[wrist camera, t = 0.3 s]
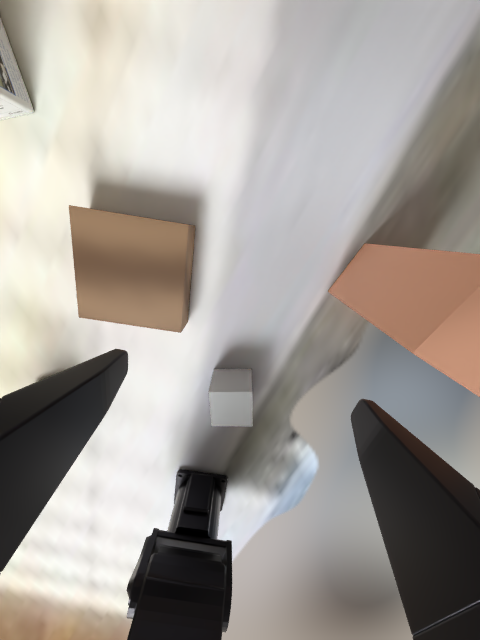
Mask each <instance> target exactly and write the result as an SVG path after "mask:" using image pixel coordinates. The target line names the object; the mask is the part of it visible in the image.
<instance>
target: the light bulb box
mask: <svg viewBox="0 0 480 640" xmlns="http://www.w3.org/2000/svg"><path fill="white" fill-rule="evenodd" d="M31 113H34V109H33V106H32V104H31V101H30V98H29V95H28V93H27V90H26V87H25V84H24V81H23V79H22V76H21V73H20V70H19V68H18V65H17V62H16V59H15V57H14V54H13V51H12V48H11V45H10V43H9V40H8V37H7V34H6V32H5V29H4V26H3V23H2V20H1V18H0V120H4V119H8V118H13V117H17V116H22V115H26V114H31Z"/></svg>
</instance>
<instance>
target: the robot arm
mask: <svg viewBox="0 0 480 640" xmlns="http://www.w3.org/2000/svg"><path fill="white" fill-rule="evenodd" d="M127 371H128V353H127V351H125V350H120V349H114V350H112V351H109V352H107V353H104V354H102V355H100V356H97V357H95V358H93V359H90V360H88V361H85V362H83V363H81V364H78V365H76V366H74V367H71V368H69V369H67V370H64V371H62V372H59V373H57V374H55V375H52V376H50V377H48V378H45V379H43V380H40V381H38V382H36V383H33V384H31V385H29V386H26V387H24V388H21V389H19V390H17V391H14V392H12V393H10V394H7V395H5V396H3V397H2V399H1V398H0V572H1V571H3V569H4V568H5V566H6V565H7V563H8V562H9V560H10V559H11V557H12V556H13V554H14V553H15V551H16V549H17V548H18V546H19V545H20V543H21V542H22V540H23V539H24V537H25V536H26V534H27V533H28V531H29V530H30V528H31V527H32V525H33V524H34V522H35V521H36V519H37V518H38V516H39V515H40V513H41V512H42V510H43V509H44V507H45V506H46V504H47V502H48V501H49V499H50V498H51V496H52V495H53V493H54V492H55V490H56V489H57V487H58V486H59V484H60V483H61V481H62V480H63V478H64V477H65V475H66V474H67V472H68V471H69V469H70V468H71V466H72V465H73V463H74V462H75V460H76V459H77V457H78V455H79V454H80V452H81V451H82V449H83V448H84V446H85V445H86V443H87V442H88V440H89V439H90V437H91V436H92V434H93V433H94V431H95V430H96V428H97V427H98V425H99V424H100V422H101V421H102V419H103V418H104V416H105V414H106V413H107V411H108V409H109V407H110V406H111V404H112V402H113V400H114V398H115V396H116V394H117V392H118V390H119V388H120V386H121V384H122V382H123V380H124V378H125V376H126V374H127ZM351 422H352V427H353V432H354V437H355V442H356V447H357V452H358V456H359V461H360V464H361V468H362V471H363V474H364V477H365V481H366V484H367V487H368V491H369V494H370V497H371V501H372V504H373V507H374V511H375V514H376V517H377V520H378V524H379V527H380V530H381V534H382V537H383V540H384V544H385V547H386V550H387V554H388V557H389V560H390V564H391V567H392V570H393V573H394V577H395V580H396V583H397V586H398V590H399V593H400V597H401V600H402V603H403V607H404V609H405V613H406V616H407V620H408V623H409V626H410V629H411V633H412V635H413V640H480V490H479V489H478V488H475V487H474V485H473V484H472V483H470V482H469V481H468V480H467V479H466V478H464V477H463V476H462V475H461V474H460V473H458V472H457V471H456V470H455V469H453V468H452V467H451V466H450V465H449V464H447V463H446V462H445V461H444V460H443V459H442V458H440V457H439V456H438V455H437V454H436V453H434V452H433V451H432V450H431V449H430V448H428V447H427V446H426V445H425V444H423V443H422V442H421V441H420V440H419V439H418V438H416V437H415V436H414V435H413V434H411V433H410V432H409V431H408V430H407V429H406V428H404V427H403V426H402V425H401V424H400V423H398V422H397V421H396V420H395V419H394V418H392V417H391V416H390V415H389V414H388V413H386V412H385V411H384V410H383V409H382V408H380V407H379V406H378V405H377V404H376V403H374V402H373V401H371V400H366V399H361V400H359V402H358V403H357V405H356V407H355V408H354V410H353V412H352V414H351ZM226 485H227V477H226V476H223V475H216V474H208V473H201V472H193V471H186V470H178V472H177V475H176V487H175V499H174V508H173V512H172V515H171V519H170V523H169V527H168V530H167V531H163V530H159V529H157V528H154V530H153V533H152V535H151V536H149V537H146V540H145V543H144V546H143V549H142V552H141V555H140V558H139V560H138V562H137V565H136V567H135V569H134V572H133V574H132V576H131V578H130V581H129V583H128V587H127V593H128V596H129V602H128V605H129V608H128V613H127V618H130V619H133V621H132V624H131V628H130V631H129V635H128V639H127V640H221V637H222V632H226V631H227V628H228V623H229V616H230V609H231V597H232V541H230V540H227V541H223V540H217V536H218V526H219V515H220V511H221V510H222V506H223V501H224V496H225V490H226ZM0 574H1V573H0Z"/></svg>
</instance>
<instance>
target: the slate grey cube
mask: <svg viewBox="0 0 480 640" xmlns="http://www.w3.org/2000/svg"><path fill="white" fill-rule="evenodd" d="M209 404H210V416H211V426H253V407H252V369H214V371H213V375H212V379H211V384H210V388H209Z"/></svg>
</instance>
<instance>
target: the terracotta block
mask: <svg viewBox="0 0 480 640" xmlns="http://www.w3.org/2000/svg"><path fill="white" fill-rule="evenodd" d="M328 292H329V293H331V294H332V295H333V296H335V297H336V298H337V299H339V300H340V301H342V302H343V303H344V304H346V305H347V306H348V307H350V308H351V309H352V310H354V311H355V312H357V313H358V314H359V315H361V316H362V317H363V318H365V319H366V320H368V321H369V322H370V323H372V324H373V325H375V326H376V327H377V328H379V329H380V330H381V331H383V332H384V333H385V334H387V335H388V336H390V337H391V338H392V339H394V340H395V341H396V342H398V343H399V344H401V345H402V346H403V347H405V348H406V349H407V350H409V351H410V352H412V353H413V354H415V355H416V356H418V357H419V358H421V359H422V360H424V361H425V362H427V363H428V364H430V365H432V366H433V367H434V368H436V369H438V370H439V371H441V372H442V373H444V374H445V375H447V376H448V377H450V378H451V379H453V380H454V381H456V382H458V383H459V384H461V385H462V386H464V387H465V388H467V389H468V390H470V391H472V392H473V393H474V394H476V395H478V396H479V397H480V254H471V253H460V252H450V251H439V250H429V249H418V248H408V247H397V246H386V245H376V244H364V245H363V246H362V248H361V249H360V250H359V251H358V253H357V254H356V255H355V257H354V258H353V259H352V261H351V262H350V263H349V264H348V266H347V267H346V268H345V270H344V271H343V272H342V274H341V275H340V276H339V277H338V279H337V280H336V281H335V283H334V284H333V285H332V287H331V288H330V289H329V290H328Z"/></svg>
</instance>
